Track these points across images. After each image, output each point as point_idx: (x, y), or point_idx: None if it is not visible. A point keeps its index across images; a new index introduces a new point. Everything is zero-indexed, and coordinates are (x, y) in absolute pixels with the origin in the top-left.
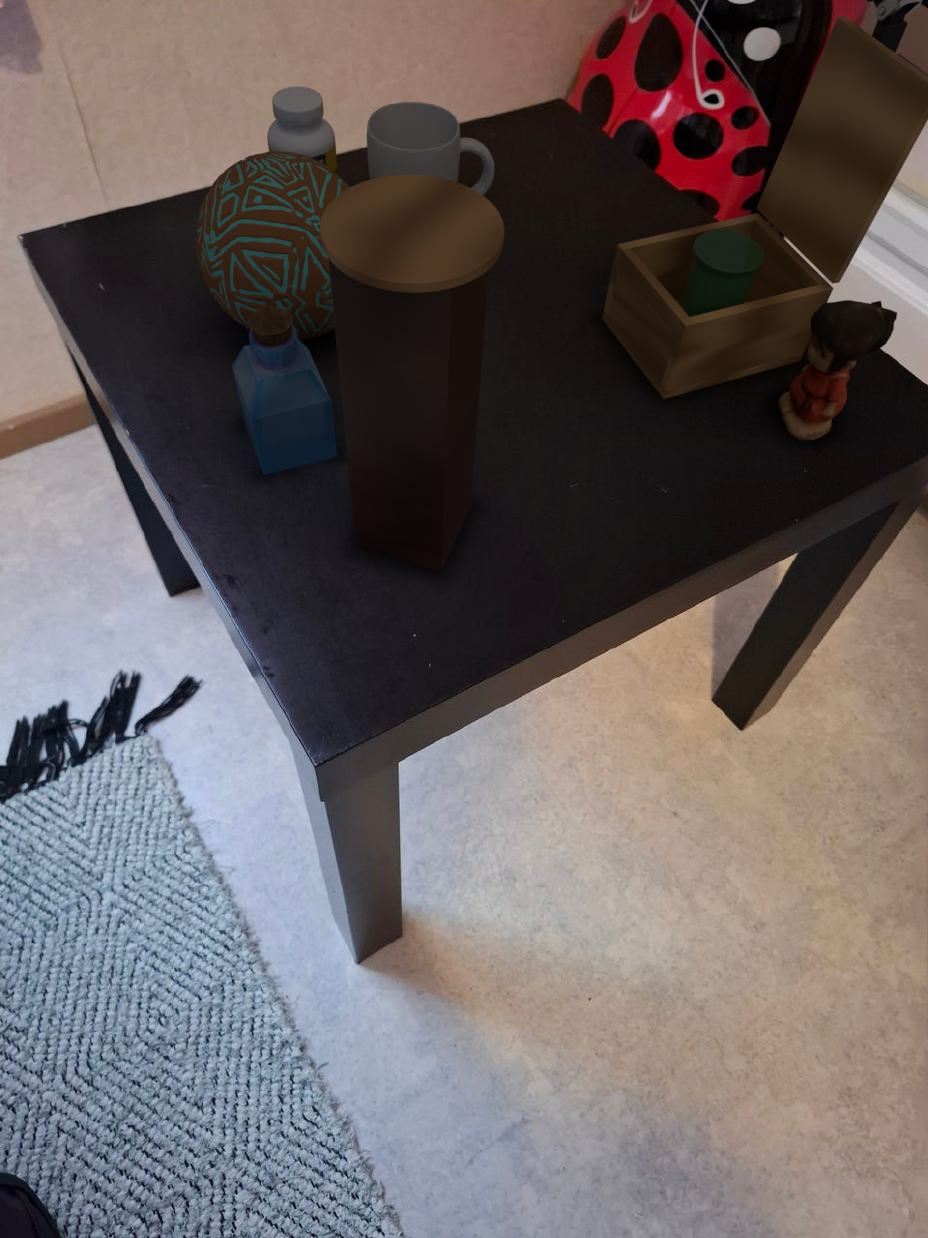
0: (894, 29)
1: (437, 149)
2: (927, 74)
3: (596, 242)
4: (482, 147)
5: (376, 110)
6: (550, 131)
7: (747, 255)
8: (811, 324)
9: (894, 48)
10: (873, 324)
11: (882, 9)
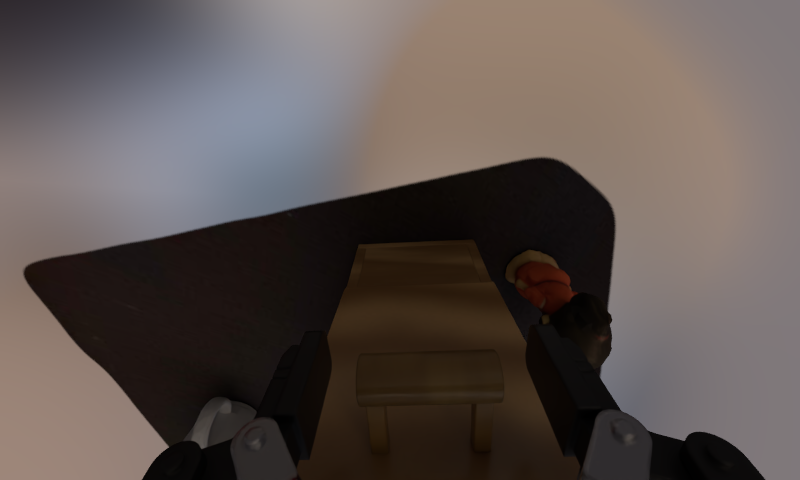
0: (306, 428)
1: None
2: (460, 393)
3: (273, 319)
4: (202, 439)
5: None
6: (79, 292)
7: None
8: None
9: (314, 371)
10: (611, 348)
11: None
